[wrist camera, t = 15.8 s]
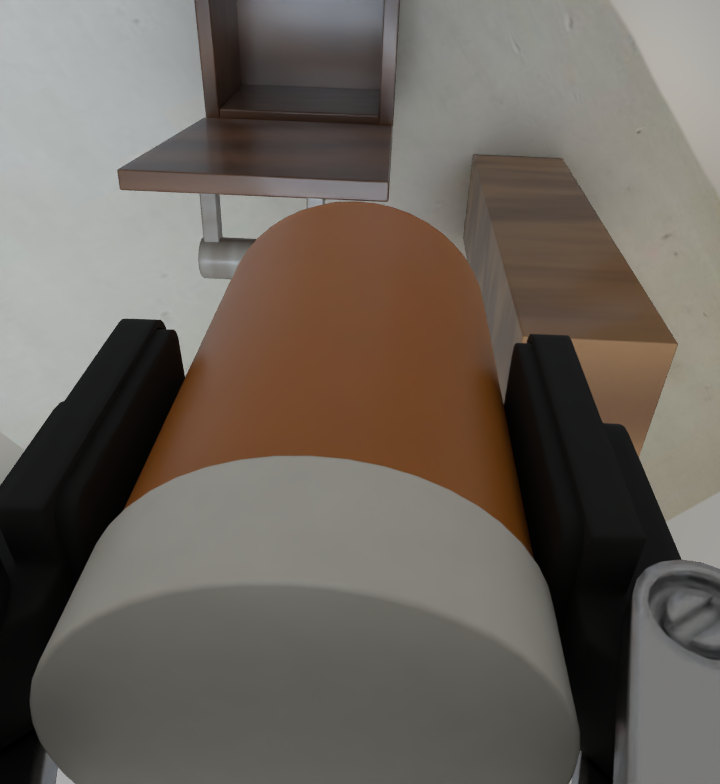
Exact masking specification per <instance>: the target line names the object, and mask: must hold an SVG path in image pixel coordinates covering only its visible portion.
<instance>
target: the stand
mask: <svg viewBox="0 0 720 784" xmlns="http://www.w3.org/2000/svg"><path fill="white" fill-rule="evenodd" d="M463 239H464V245H465V251H466V256H467V262H468V264H469V265H470V267H471V269H472V270H473V272H474V274H475V277H476V279H477V282H478V284H479V286H480V290H481V294H482V298H483V302H484V307H485V312H486V317H487V323H488V328H489V333H490V338H491V343H492V348H493V353H494V358H495V363H496V368H497V373H498V379H499V384H500V389H501V394H502V399H503V404H504V400H505V394H506V388H507V382H508V376H509V370H510V364H511V358H512V352H513V348H514V345H515V343H527V339H528V337H529V335H530V334H548V335H568V336H570V338H571V340H572V343H573V346H574V348H575V351H576V353H577V356H578V359H579V361H580V364H581V367H582V369H583V372H584V375H585V377H586V380H587V383H588V385H589V388H590V391H591V393H592V396H593V399H594V401H595V404H596V406H597V409H598V412H599V414H600V417H601V420H602V422H603V423H613V424H621V425H623V426H624V427H625V428H626V430H627V432H628V433H629V436H630V438H631V440H632V443H633V445H634V448H635V450H636V452H637V455H638V457H639V455H640V452H641V449H642V446H643V443H644V441H645V438H646V435H647V432H648V429H649V426H650V423H651V420H652V418H653V415H654V412H655V409H656V406H657V403H658V400H659V397H660V395H661V392H662V389H663V386H664V383H665V380H666V377H667V374H668V372H669V369H670V366H671V363H672V360H673V357H674V354H675V351H676V349H677V346H678V343H677V342H676V340H675V339H674V337H673V335H672V334H671V332H670V331H669V329H668V327H667V326H666V324H665V323H664V321H663V319H662V318H661V316H660V314H659V313H658V311H657V310H656V308H655V306H654V305H653V303H652V302H651V300H650V298H649V297H648V295H647V294H646V292H645V290H644V289H643V287H642V286H641V284H640V282H639V281H638V279H637V278H636V276H635V274H634V273H633V271H632V270H631V268H630V266H629V265H628V263H627V262H626V260H625V258H624V257H623V255H622V254H621V252H620V250H619V249H618V247H617V246H616V244H615V242H614V241H613V239H612V238H611V236H610V234H609V233H608V231H607V229H606V228H605V226H604V225H603V223H602V221H601V220H600V218H599V217H598V215H597V213H596V212H595V210H594V209H593V207H592V205H591V204H590V202H589V201H588V199H587V197H586V196H585V194H584V193H583V191H582V189H581V188H580V186H579V185H578V183H577V181H576V180H575V178H574V177H573V175H572V173H571V172H570V170H569V169H568V167H567V165H566V164H565V162H564V161H563V159H561V158H538V157H515V156H491V155H473V162H472V170H471V178H470V186H469V195H468V203H467V211H466V219H465V228H464V236H463Z"/></svg>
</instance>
